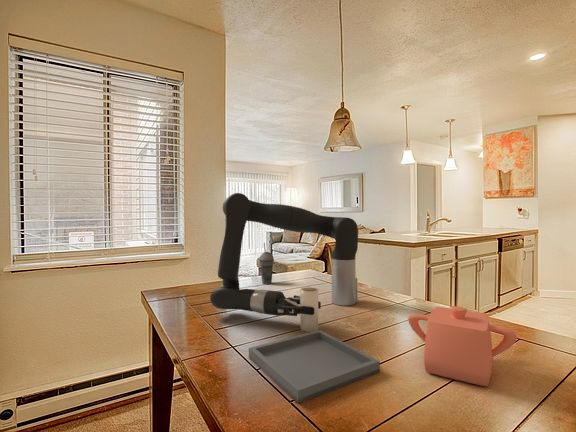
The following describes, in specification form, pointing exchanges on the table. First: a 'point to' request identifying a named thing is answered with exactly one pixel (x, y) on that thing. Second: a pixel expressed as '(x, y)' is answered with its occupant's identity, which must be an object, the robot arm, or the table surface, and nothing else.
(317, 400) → the table surface
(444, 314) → the teapot
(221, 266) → the robot arm
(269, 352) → the charcoal tray
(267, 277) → the beverage cup
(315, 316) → the cream cup
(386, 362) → the table surface
